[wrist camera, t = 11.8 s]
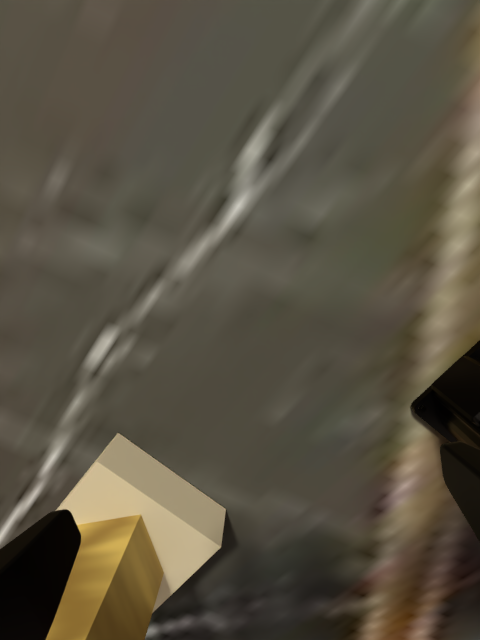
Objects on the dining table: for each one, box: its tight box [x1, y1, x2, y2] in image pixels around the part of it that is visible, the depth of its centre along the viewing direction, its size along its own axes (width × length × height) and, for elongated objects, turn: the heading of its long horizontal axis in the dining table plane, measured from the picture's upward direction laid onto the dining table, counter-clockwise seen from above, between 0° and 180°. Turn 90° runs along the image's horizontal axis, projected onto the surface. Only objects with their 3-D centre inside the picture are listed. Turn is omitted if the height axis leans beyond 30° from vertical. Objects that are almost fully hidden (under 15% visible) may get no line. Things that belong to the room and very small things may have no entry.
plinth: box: [56, 433, 226, 613], centre depth 22 cm, size 10×10×3 cm
